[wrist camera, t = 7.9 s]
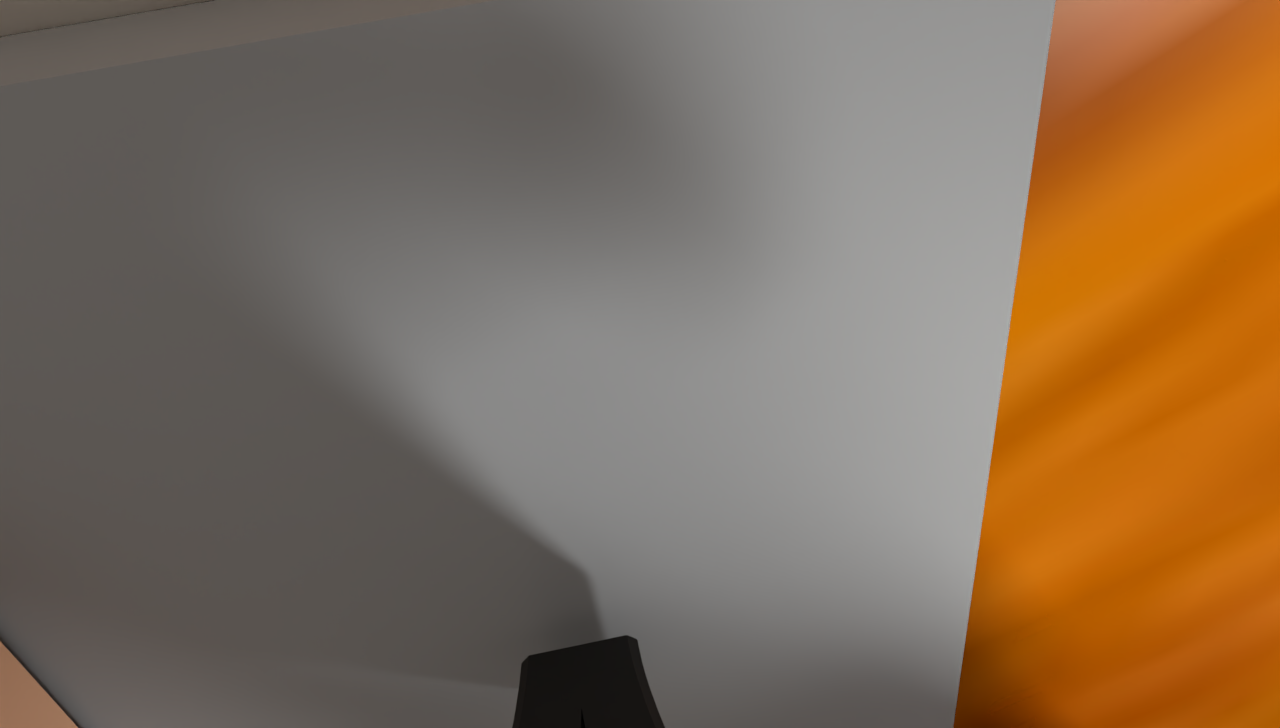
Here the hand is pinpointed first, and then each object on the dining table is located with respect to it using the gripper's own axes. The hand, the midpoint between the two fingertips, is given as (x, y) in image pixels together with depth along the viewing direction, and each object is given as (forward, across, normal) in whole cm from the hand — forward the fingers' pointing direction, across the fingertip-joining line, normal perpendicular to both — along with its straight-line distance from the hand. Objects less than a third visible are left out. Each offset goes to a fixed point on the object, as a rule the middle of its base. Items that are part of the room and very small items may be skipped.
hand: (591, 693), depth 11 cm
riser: (+3, +1, 0) cm, 3 cm away
